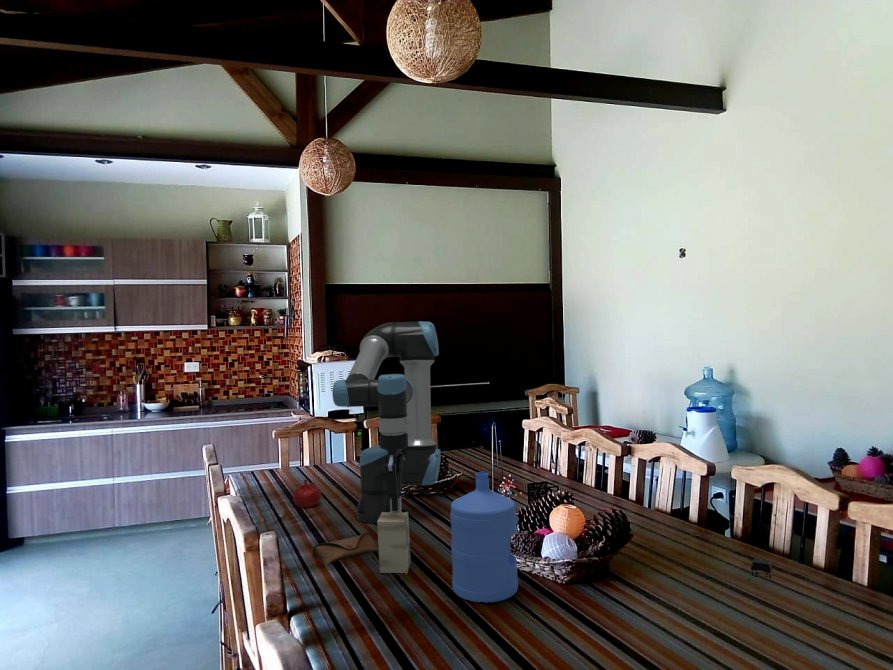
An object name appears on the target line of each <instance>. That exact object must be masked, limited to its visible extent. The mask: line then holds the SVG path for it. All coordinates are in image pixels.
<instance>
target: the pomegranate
mask: <svg viewBox="0 0 893 670" xmlns="http://www.w3.org/2000/svg"><path fill="white" fill-rule="evenodd" d="M303 483H304V484H297V485H296V487H297V488H296V490H295V492H294V494H293V497H292V499H293V503H294V505H295V506H296V507H298V508H300V507H308V508H312V507H314V506H316V505H318V504H319V502H321V499H322V491H321V489H320V487H318V486H317V485H318V483H314V482H312V481H311V482H310V483H309V484H308V479H304V480H303ZM311 506H312V507H311Z"/></svg>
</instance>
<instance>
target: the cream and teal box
mask: <svg viewBox="0 0 893 670" xmlns="http://www.w3.org/2000/svg"><path fill="white" fill-rule="evenodd" d="M409 522H410V521H409V512H408V511H407V512H406V511H405V512H403V511H402V512H382V513H381V515H380V517H379V519H378V521H377V523H376V524H377V525H376V527H377V544H378V545H377V547H378V549H379V551H378V559H379V562H378V563H379V574H380V573H401V574H400V575H403V574H402V573H406V574H405V575H407V574H408V572H409V569H410V566H411V563H412V561H411V547H410V545H411V544H410V543H411V542H410V525H409Z"/></svg>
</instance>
